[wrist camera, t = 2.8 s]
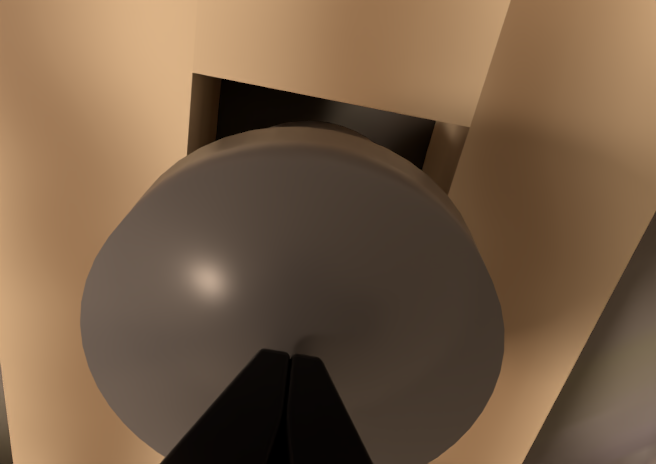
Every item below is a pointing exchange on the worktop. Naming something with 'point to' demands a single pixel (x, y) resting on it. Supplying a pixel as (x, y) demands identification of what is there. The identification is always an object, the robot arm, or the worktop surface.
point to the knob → (296, 290)
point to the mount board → (344, 86)
